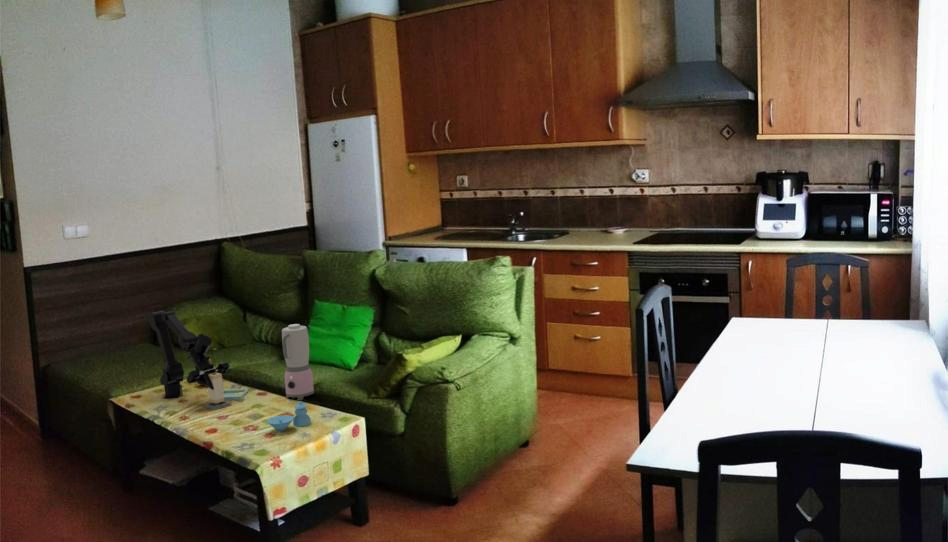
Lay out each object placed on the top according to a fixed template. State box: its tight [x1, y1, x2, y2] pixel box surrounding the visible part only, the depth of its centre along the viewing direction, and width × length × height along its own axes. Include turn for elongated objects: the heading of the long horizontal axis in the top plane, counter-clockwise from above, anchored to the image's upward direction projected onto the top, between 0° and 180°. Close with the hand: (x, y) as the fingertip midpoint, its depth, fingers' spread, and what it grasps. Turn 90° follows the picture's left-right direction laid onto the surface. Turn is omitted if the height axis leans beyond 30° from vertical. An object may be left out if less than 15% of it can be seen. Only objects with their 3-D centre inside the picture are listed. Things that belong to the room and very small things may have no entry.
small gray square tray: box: [203, 400, 232, 411], centre depth 352 cm, size 8×9×2 cm
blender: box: [281, 323, 315, 401], centre depth 358 cm, size 16×12×32 cm
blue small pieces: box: [266, 400, 312, 432], centre depth 318 cm, size 18×10×9 cm, turn 135°
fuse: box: [208, 373, 224, 403], centre depth 351 cm, size 4×4×12 cm
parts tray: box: [223, 388, 249, 401], centre depth 366 cm, size 12×12×2 cm
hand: (217, 387), depth 350 cm, fingers closed on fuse, 4 cm apart
